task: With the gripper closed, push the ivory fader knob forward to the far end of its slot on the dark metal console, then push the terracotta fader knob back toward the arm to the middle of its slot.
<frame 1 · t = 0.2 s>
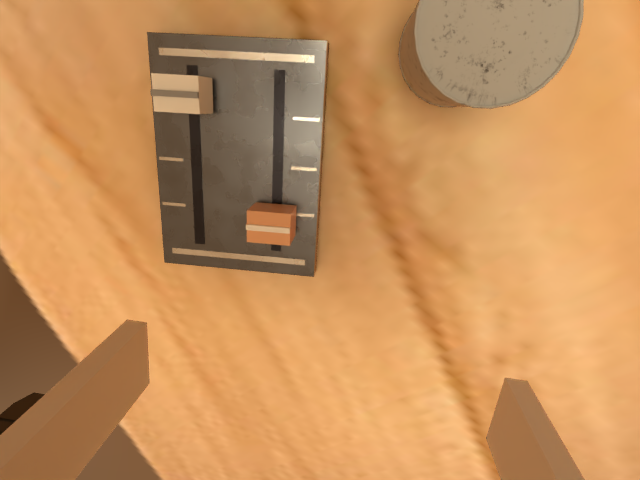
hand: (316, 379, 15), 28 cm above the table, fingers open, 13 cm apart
fader ivory: (183, 94, 35), point 4 cm above the table, slide at -6.0 cm
fader terracotta: (271, 223, 38), point 4 cm above the table, slide at 5.0 cm
grey speckled cylinder: (453, 50, 36), on the table
console: (242, 160, 40), on the table
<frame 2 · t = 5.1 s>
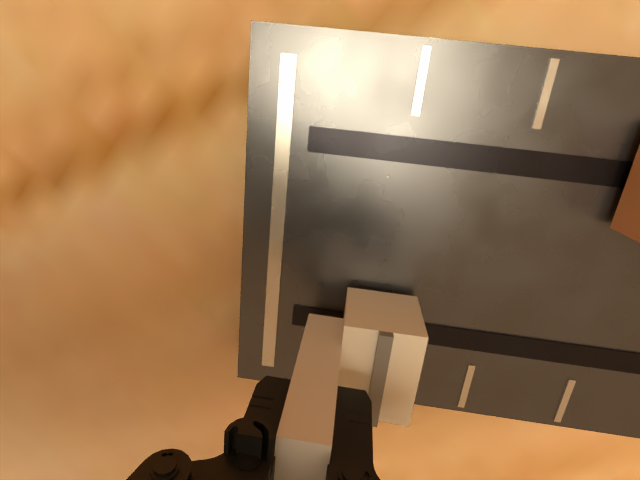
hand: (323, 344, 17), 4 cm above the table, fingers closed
fader ivory: (376, 354, 16), point 4 cm above the table, slide at -4.7 cm, touching gripper
console: (486, 243, 19), on the table
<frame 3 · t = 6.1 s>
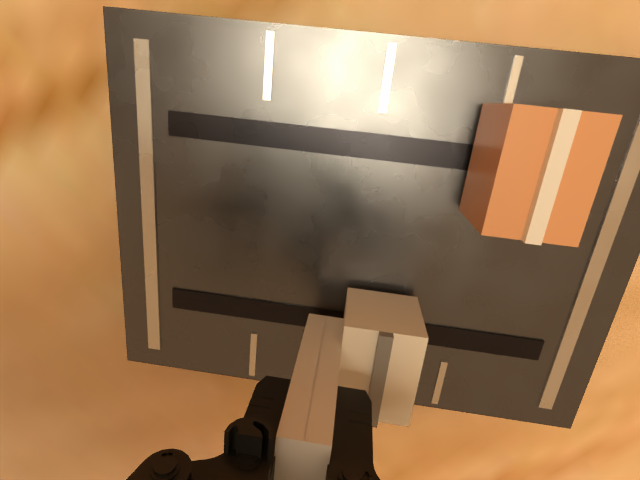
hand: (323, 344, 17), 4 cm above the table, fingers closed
fader ivory: (376, 355, 16), point 4 cm above the table, slide at 1.1 cm, touching gripper
fader terracotta: (528, 171, 13), point 4 cm above the table, slide at 5.0 cm
console: (363, 227, 19), on the table
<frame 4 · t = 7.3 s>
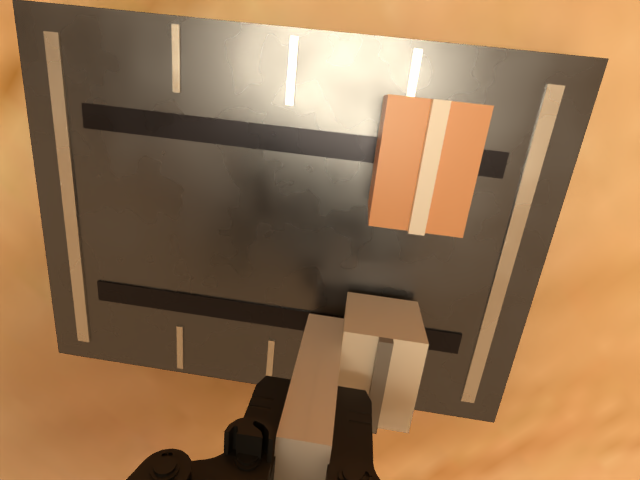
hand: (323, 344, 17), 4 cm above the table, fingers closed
fader ivory: (376, 360, 16), point 4 cm above the table, slide at 4.7 cm, touching gripper
fader terracotta: (421, 162, 14), point 4 cm above the table, slide at 5.0 cm
console: (288, 221, 19), on the table
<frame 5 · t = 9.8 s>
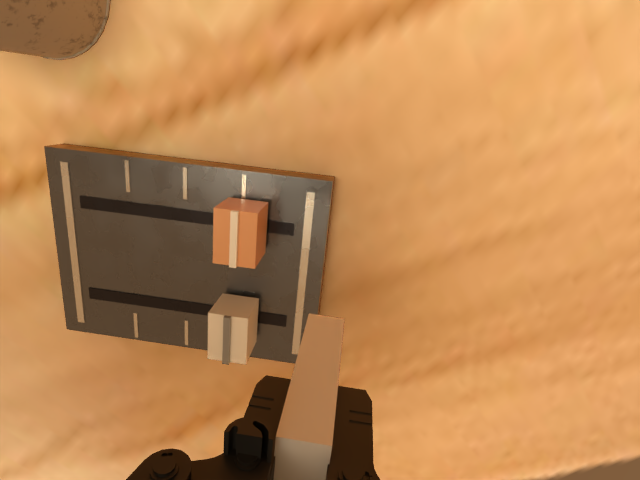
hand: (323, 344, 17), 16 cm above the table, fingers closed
fader ivory: (233, 328, 31), point 4 cm above the table, slide at 4.7 cm
fader terracotta: (240, 232, 29), point 4 cm above the table, slide at 5.0 cm
console: (195, 254, 34), on the table
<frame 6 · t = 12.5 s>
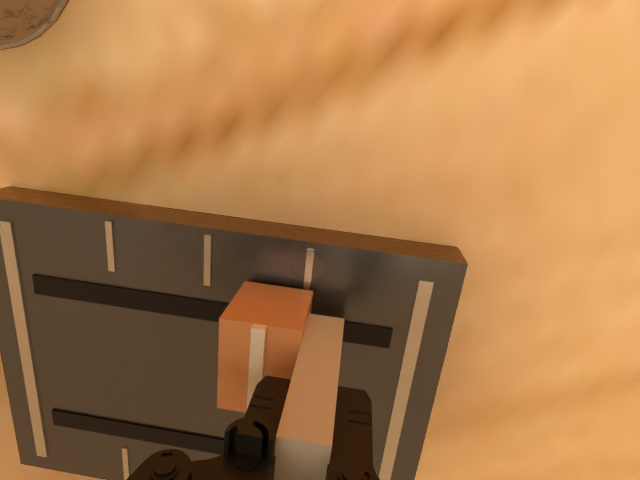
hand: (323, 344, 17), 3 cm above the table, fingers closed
fader terracotta: (266, 348, 16), point 4 cm above the table, slide at 3.3 cm, touching gripper
console: (220, 356, 22), on the table
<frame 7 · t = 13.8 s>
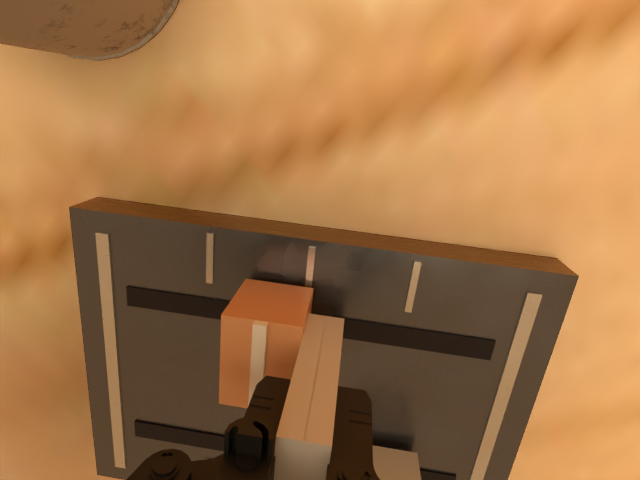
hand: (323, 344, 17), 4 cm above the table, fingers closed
fader terracotta: (267, 345, 16), point 4 cm above the table, slide at -1.2 cm, touching gripper
console: (303, 367, 22), on the table
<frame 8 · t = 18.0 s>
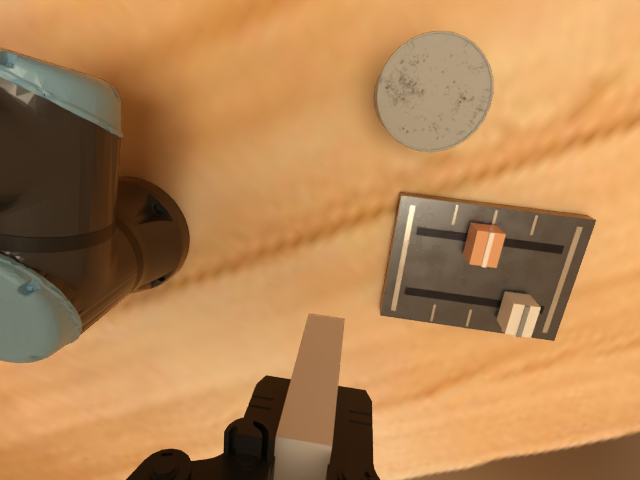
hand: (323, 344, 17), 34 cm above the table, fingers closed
fader ivory: (518, 314, 48), point 4 cm above the table, slide at 4.7 cm
fader terracotta: (483, 245, 46), point 4 cm above the table, slide at -1.2 cm
grey speckled cylinder: (416, 96, 46), on the table
console: (476, 264, 51), on the table
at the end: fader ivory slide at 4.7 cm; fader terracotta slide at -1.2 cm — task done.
